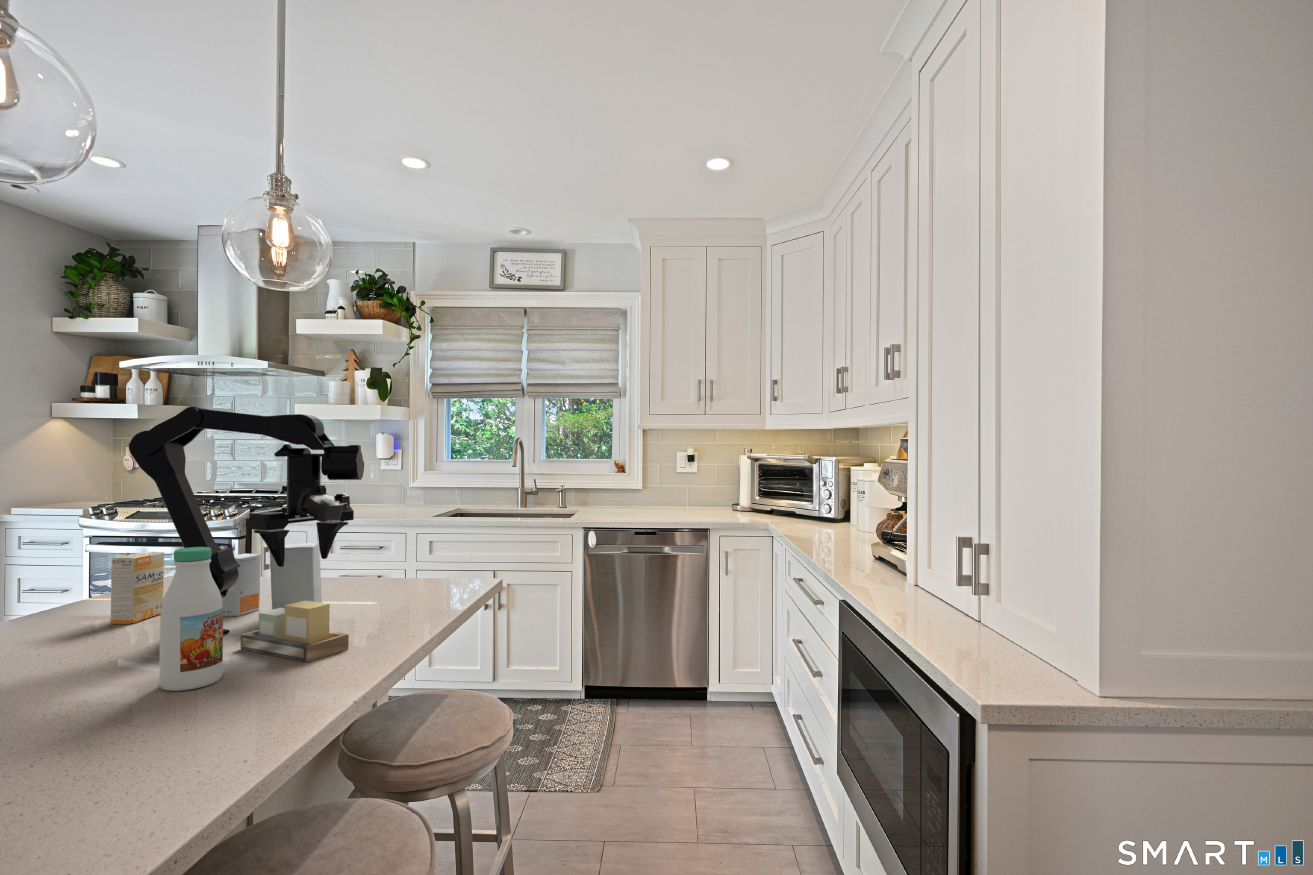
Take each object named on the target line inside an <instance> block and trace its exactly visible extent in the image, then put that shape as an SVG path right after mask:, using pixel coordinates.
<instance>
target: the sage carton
mask: <svg viewBox="0 0 1313 875" xmlns="http://www.w3.org/2000/svg"><path fill="white" fill-rule="evenodd" d="M284 625H285V609H284V608H277V609H273V610H272V609H269V610H265V611H260V612H258V630H259V635H263V636H268V637H274V638H279V639H284Z"/></svg>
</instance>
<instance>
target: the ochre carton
mask: <svg viewBox="0 0 1313 875" xmlns="http://www.w3.org/2000/svg"><path fill="white" fill-rule="evenodd" d="M330 606H331V605H330V603H326V602H322V603H320V602H313V601H306V600H305V601H301V602H297V603H292V604H288V605H285V625H284V639H285V640H290V641H296V642H301V643H306V644H313V643H317V642H320V641H323V640H326V639H329V631H330Z"/></svg>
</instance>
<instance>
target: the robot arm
mask: <svg viewBox="0 0 1313 875" xmlns="http://www.w3.org/2000/svg"><path fill="white" fill-rule="evenodd" d="M206 429H208V430H215V431H224V432H233V433H234V432H235V433H243V434H244V433H245V434H253V435H260V436H261V435H262V436H266V437H269V438H272V439H276V440H278V441H282V442H285V444H283V445H282V446H281V448H280V449H278V450H277V451H275V452H274V454H273V455H274V457H286V485H281V492H283V493H284V492H286V507H281V512H277V511H262V512H253V513H251V514H250V515H249V517H248V518H247V520H246V529H247V530H253V533H254V534H258V535H259V536H260V537H261V539H262V540H263V542H264V543H265V544H266V547H267V549H268V550H269V553H270V552H271V554H272V556H273V558H274V559H275V561H276V563H277V565H278V566H279V567H283V566H284V560H285V544H286V543H285V542H286V537H287V536H288V534H289V532H290V530H289V529H286V527H287V526H288V525H289V524H296V523H306V522H314V521H317V522H316V530H317V531H316V532H317V538H318V542H319V548H320V559H322V560H326V559H328V557H329V553H330V551H331V549H332V547H333V544H334V541H335V539H336V537H337V534H338V532H339V531H340V530H341V529H342V528H343V527H344V526H347V525H349V521H354V519H355V513H354V512H355V511H354V510H353V508H352V507H351V505H350V504H351V502H350V501H351V500H350V499H351V498H350V495H349V494H347V493H345V492H344V493H336V494H335V495H329V494H327V488H326V485H321V484H322V483H321V477H322V476H321V474H322V475H323V476H326V477H327V479H328V480H329V481H362V479H363V477H364V474H365V473H364V471H365V461H364V458H363V457H364V456H363V452H362V446H361V445H360V444H350V445H335V444H334V442H332V440H331V439H330V438H329V436H328V435H327V434H326V433H325V426H324V423H323V422H322V420H320V418H319V417H317V416H315V415H310V414H301V413H299V414H297V413H296V414H279V415H278V414H277V415H275V414H274V415H259V414H248V413H242V412H241V413H240V412H233V411H232V412H231V411H226V410H225V411H224V410H213V409H210V408H209V409H208V408H206V407H201V406H199V407H198V406H188V407H185V408H184V409H183V410H181V411H180V412H179V413H177V414H176V415H174V416H172V417H170V418H168V419H165V420H164V421H162V422H160V423H158V424H157V425H154V426H153V427H152V428H150V429H149V430H142V431H140V432H137V433H136V434H134V436H133V437H132V438H131V440H130V442H129V443H128V451H129V454H130V455H131V457H132V459H134V461H135V462H136V464H137V466H138V467H139V468H140V470H142V471H143V472H144V473H145V474H146V475H147V476H149V478H150V479H152V480H153V482H154V483H155V484H156V487H157V489H158V491H159V493H160V496H161V499H162V500H163V502H164V505H165V508H166V509H167V512H168V514H169V517H170V519H171V521H172V523H173V525H174V528H175V530H176V533H177V535H178V538H179V539H180V541H181V543H182V546H183V548H190V547H209V548H211V562H210V563H209V568H210V572H211V575H212V577H213V580H214V581H215V583H216V585H217V587H218V589H219V591H220V594H221V598H222V597H225V596H226V595H227V592H228V590H229V588H230V587H232V586H233V585H234V584H235V583H236V581H237V579H238V577H239V572H238V569H237V568H238V567H240V565H239V564H238V563H237V561H236V560H235V557H234V555H235V554H234V553H235V552H234V551H233V548H232V547H228V548H225V549H223V548H221V547H220V546H219V545H218V544H217V543H216V542H215V538H214V537H213V534H212V533H211V530H210V528H209V525H208V523H207V521H206V519H205V516H204V514H203V512H202V510H201V508H200V505H199V502H198V501H197V498H196V495H195V493H194V492H193V489H192V486H191V484H190V482H189V480H188V477H187V476H186V460H187V458H186V454H185V449H184V448H185V447H186V446H188V445H189V444H190V443H192V442H193V441H194V440H195V439H196V438H197V437H198V435H200V434H201V433H202V432H203V431H204V430H206ZM290 444H292V445H297V446H300V445H301V446H303V445H304V446H305V447H292V446H291V445H290ZM311 450H312V451H323V453H312V452H311ZM229 633H230V629H226V628H223V635H226V634H229Z"/></svg>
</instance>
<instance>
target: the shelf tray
mask: <svg viewBox="0 0 1313 875" xmlns="http://www.w3.org/2000/svg"><path fill="white" fill-rule="evenodd" d="M349 635H350V634H349V633H344V632H339V631H332V630H331V631H330V630H329V639H326V640H323V641H320V642H317V643H313V644H306V643H301V642H296V641H290V640H285V639H279V638H274V637H268V636H263V635H259V629H256V630H253V631H248V632H244V633H241V634H240V648H241V649H240V650H244V649H246V650H245V651H250V652H254V651H256V652H255V653H259V652H260V653H259V654H264V653H265V655H269V654H270V655H271V656H274V655H275V657H280V658H284V657H286V659H290V660H295V661H300V662H304V663H310V662H312V661H317V660H320V659H322V658H324V657H325V658H326V657H327V656H331V655H334V654H337V653H339V652H342V651H345V650H348V649H349V646H350V645H349V641H350V640H349V638H350V637H349Z"/></svg>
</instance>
